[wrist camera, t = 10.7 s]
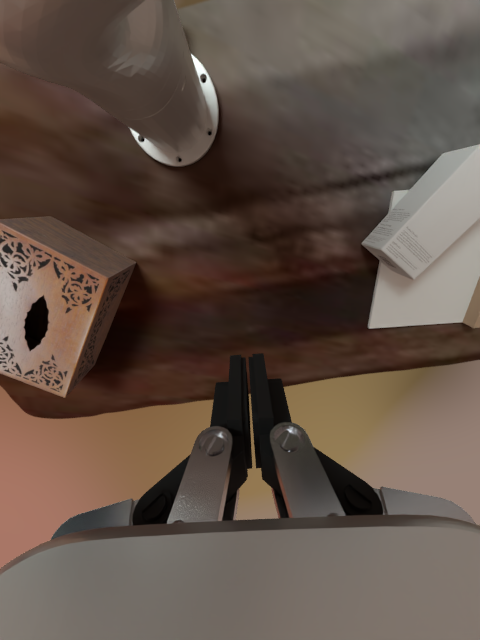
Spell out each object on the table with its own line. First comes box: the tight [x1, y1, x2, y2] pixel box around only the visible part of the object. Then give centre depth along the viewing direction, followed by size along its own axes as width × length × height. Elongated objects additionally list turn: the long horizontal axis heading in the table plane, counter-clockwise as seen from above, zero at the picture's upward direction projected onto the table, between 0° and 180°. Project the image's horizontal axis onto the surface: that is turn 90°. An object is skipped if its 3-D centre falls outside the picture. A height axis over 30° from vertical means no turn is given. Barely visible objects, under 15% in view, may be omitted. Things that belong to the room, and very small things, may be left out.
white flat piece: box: [368, 190, 480, 329], centre depth 40 cm, size 24×19×3 cm
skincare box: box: [362, 144, 480, 280], centre depth 35 cm, size 8×7×16 cm
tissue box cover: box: [0, 216, 136, 398], centre depth 40 cm, size 26×14×10 cm, turn 149°
